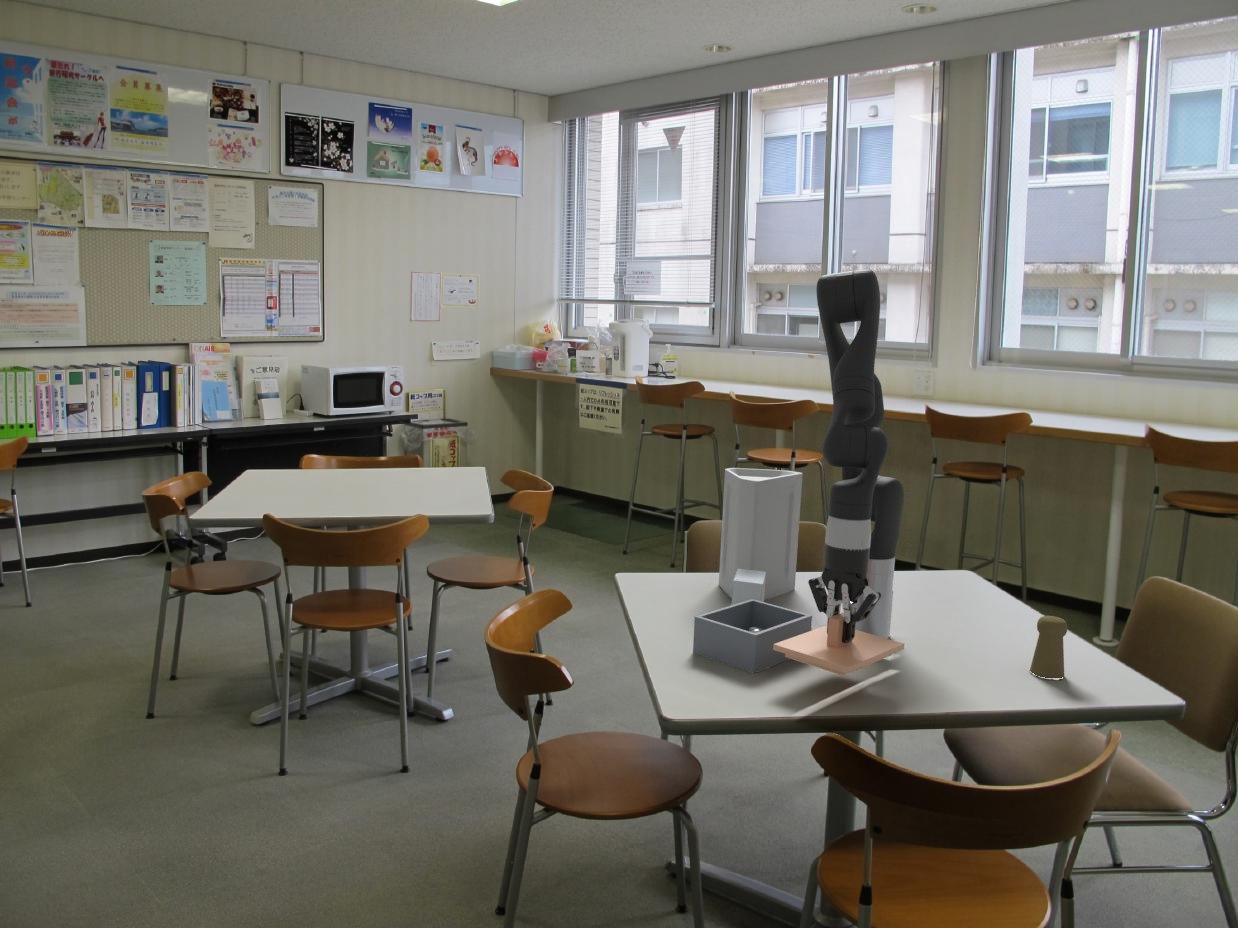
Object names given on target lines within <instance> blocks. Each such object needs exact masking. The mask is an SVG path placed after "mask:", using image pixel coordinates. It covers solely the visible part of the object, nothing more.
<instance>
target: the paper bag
mask: <svg viewBox="0 0 1238 928" xmlns="http://www.w3.org/2000/svg"><path fill="white" fill-rule="evenodd" d="M723 482H724V483H723V496H722V497H723V501H722V518H721V536H720V537H721V539H720V554H719V555H720V556H719V571H718V573H719V574H718V586H719V587H720V588H721V589H722V590H723V591H724V592H725V594H726V595H727V596H728V597H729V598H730V597H731V598H730V599H731V600H732V589H733V580H734V577H735V575H736V572H737V569H746V570H755V571H763V572H766V577H765V594H764V601H767V600H769V599H773V598H775V597H778V596H781V595H784V594H788V593H791V592H792V591H795V590H796V589H795V588H796V578H797V577H796V576H797V575H796V574H797V559H798V546H799V545H798V544H799V530H800V514H801V500H802V489H803V488H802V486H803V485H802V483H803V472H799V471H794V470H784V469H783V470H782V469H781V470H780V469H761V468H743V467H742V468H741V467H729V468H724V481H723Z"/></svg>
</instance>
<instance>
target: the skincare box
mask: <svg viewBox="0 0 1238 928" xmlns="http://www.w3.org/2000/svg"><path fill="white" fill-rule="evenodd" d="M765 577H766V572H763V571H755V570H746V569H737V572H736V575H735V577H734V580H733V589H732V599H731V604H730V606H731V605H734V604H737V603H741V602H744V601H747V600H751V599H754V600H758V601H761V602H765V600H764V594H765Z"/></svg>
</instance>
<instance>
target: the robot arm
mask: <svg viewBox="0 0 1238 928" xmlns="http://www.w3.org/2000/svg"><path fill="white" fill-rule="evenodd" d="M880 291H881V290H880V285H879V280H878V277H877V274H876V273H875V272H874V271H873V270H872V269H856V270H849V271H848V270H847V271H842V272H841V271H840V272H835V273H827V274H824V275H820V277H819V278H818V279H817V282H816V301H817V307H818V312H819V318H820V323H821V327H822V333H823V337H824V342H825V343H824V344H825V347H826V352H827V358H828V365H829V374H830V383H831V391H832V392H831V394H832V402H833V404H832V414H831V418H830V422H829V426H828V429H827V430H826V434H825V437H824V439H823V444H822V454H823V458H824V459H825V461H826V462H827V464H828V465H830V466H832V467H834V468H835V467H837V468H841V479H842V480H838V481H836V482H833V483H832V485H831V487H830V494H829V508H828V510H829V511H828V517H827V518H828V519H827V522H826V526H825V527H826V528H825V535H824V536H825V540H824V553H823V567H824V569H823V571H822V573H821V576H817V577H812V578H811V579H808V581H807V583H808V585H809V589H810V590H811V594H812V596H813V600H814V603H815V604H816V607H817V610H818V612H819V613H823V614H825V615H826V617H827V623H826V625H827V634H828V622H829V617H831V616H834V615H837V614H840V613H841V606H842V610H843V612H844V621H845V622H843V633H842V642H843V643H849V642H851V640H853V639H854V637H855V630H858V631H862V632H865V633H869V634H872V635H876V636H880V637H883V638H887V639H889V638H890V637H889V636H890V634H891V621H892V612H893V611H892V609H893V601H894V600H893V599H894V598H893V597H894V591H893V590H894V589H893V586H894V576H895V574H894V573H895V563H896V553H897V552H896V551H897V546H898V544H899V540H900V532H901V531H900V530H901V523H902V515H903V510H904V501H905V491H904V486H903V484H902V482H901V481H900V480H899V479H898V478H895V477H890V476H883V475H880V472H881V470H882V467H883V464H884V462H885V460H886V456H887V454H888V449H889V441H888V437H887V434H886V433H885V431H884V430H882V429H881V426H882V424H883V421H884V417H885V406H884V405H885V404H884V398H883V390H882V388H883V387H882V384H881V381H880V379H879V378H878V376H877V375H876V373H875V363H876V362H875V361H876V354H877V346H878V338H879V326H880V315H881V292H880ZM856 322H860V324H859V327H858V329H857V332H856V334H855V336H854V338H853V340H852V341H851V343H849V341H848V339H847V337H846V336H845V334H844V330H843V328H842V326H841V324H847V323H856ZM871 522H874V526H873V530H872V523H871Z"/></svg>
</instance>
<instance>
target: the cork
mask: <svg viewBox="0 0 1238 928" xmlns="http://www.w3.org/2000/svg"><path fill="white" fill-rule="evenodd" d="M1036 630H1037V631H1038V638H1037V641H1036V644H1035V649H1034V652H1033V653H1034V654H1033V656H1032V661H1031V665H1030V669H1029V672H1030V671H1031V672H1032V673H1034V674H1035V675H1037V676H1040V677H1045V678H1062V677H1064V678H1065V657H1064V656H1065V655H1064V636H1066V635H1067V633H1068V624H1067V621H1066V620H1065V619H1063V618H1061V617H1058V616H1054V615H1044V616H1041V617H1040V618H1039V619H1038V620H1037V623H1036Z"/></svg>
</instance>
